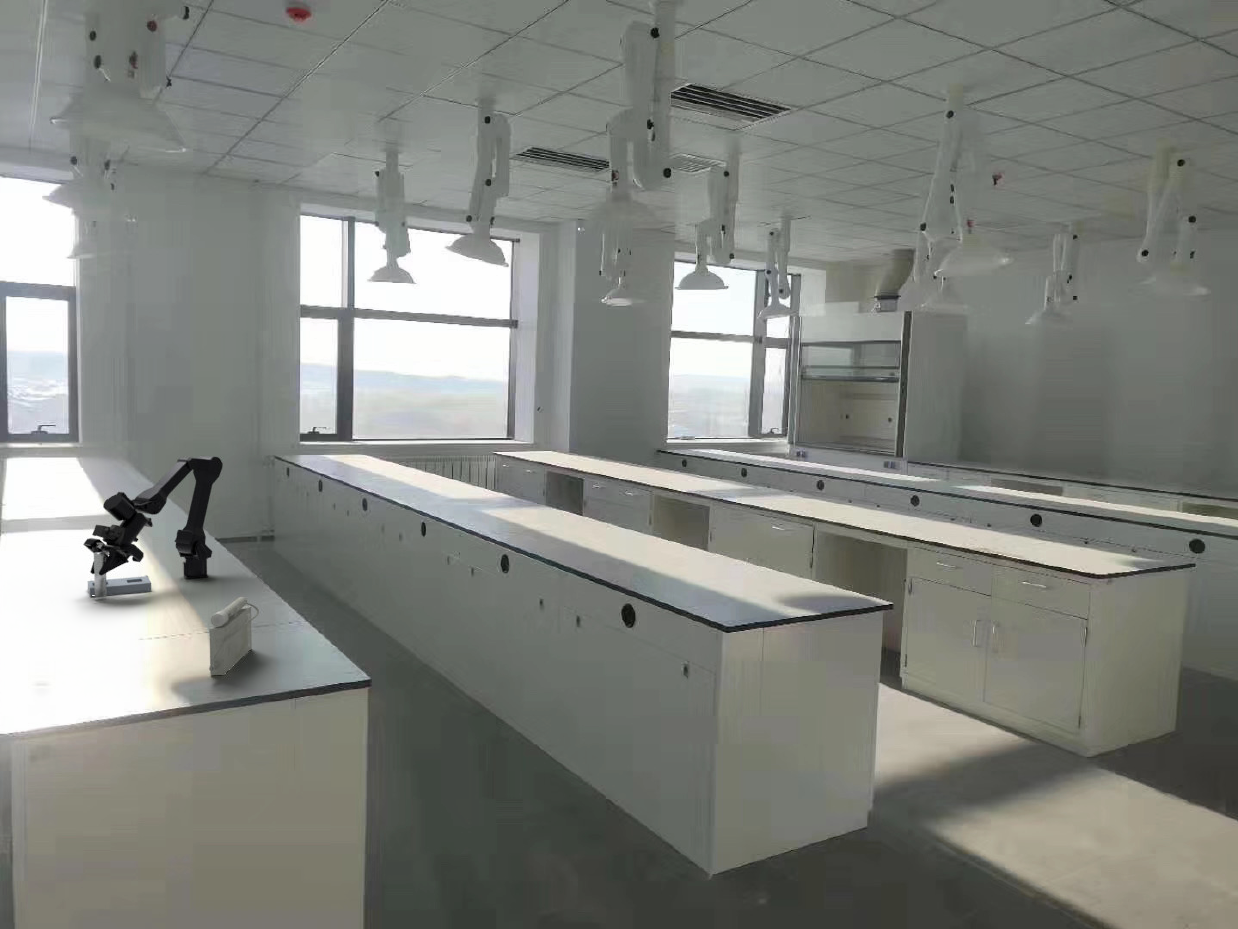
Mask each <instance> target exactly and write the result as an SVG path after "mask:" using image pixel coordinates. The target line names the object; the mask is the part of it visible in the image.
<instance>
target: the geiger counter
mask: <svg viewBox="0 0 1238 929" xmlns="http://www.w3.org/2000/svg"><path fill="white" fill-rule="evenodd" d="M252 607H253V608H254V609H255V610H256V613H255V615H253V616H252ZM259 611H260V610H259V608H258V607H257V606H256V605H254V604H252V603H249V602H248V600H247V598H246V597H245V596H239V597H238V598H236V599H235V600H234V601H232V602H231V603H230V604H228V605H226V606H225V608H223V609H222V610H219V611H217V612H215V613H214V614H213V615H212V616H211V617H210V624H211V625H212V626H211V627H210V628H209V660H210V661H209V668H208V669H209V671H210V672H209V673H210V674H209V675H224V674H225V673H226V672H227V671H228V670H229V669H231V668H232V667H233V665H235V664H236V663H237V662H238V661H239V660H240V659H241V658H242V657H243V656H244V657H246V655H247V654H248V653H249V652H250V651H249V650H251V648H252V649H253V644H252V641H253V640H252V636H253V635H252V621H253V620H254V619H256V618H257V617H258V615H259V613H260V612H259ZM248 651H249V652H248ZM251 651H252V650H251ZM247 652H248V653H247ZM246 653H247V654H246ZM245 654H246V655H245ZM244 657H243V658H244ZM243 658H242V659H243ZM242 659H241V660H242ZM241 660H240V661H241ZM240 661H239V662H240ZM239 662H238V663H239ZM238 663H237V664H238ZM237 664H236V665H237ZM236 665H235V666H236ZM233 668H234V667H233ZM233 668H232V669H233ZM232 669H231V670H232Z"/></svg>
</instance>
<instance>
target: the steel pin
mask: <svg viewBox="0 0 1238 929" xmlns="http://www.w3.org/2000/svg"><path fill="white" fill-rule="evenodd" d="M93 562H94V574H93V577H94V578H93V581H94V582H95V596H94V597H95V598H96V597H97V598H100V597H101V598H102V597H103V598H104V597H106V596H108V595H107V583H106V580H107V573H106V574H104V575H102V576H101V575H99V571H100V570H101V568H102V566H103V565H104V563H105V562H106V552H96V553H93Z"/></svg>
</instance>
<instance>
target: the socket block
mask: <svg viewBox="0 0 1238 929" xmlns="http://www.w3.org/2000/svg"><path fill="white" fill-rule="evenodd" d="M106 583H107V595H106V596H114V595H125V594H135V593H144V592H145V593H147V592H152V582H151V580H150V578H149V576H145V575H144V576H133V577H123V578H112V579H111V578H110V579H106ZM87 591H89V592H88V595H89V597H90V596H92V595H95V582H94V580H88V581H87Z"/></svg>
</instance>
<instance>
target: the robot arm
mask: <svg viewBox="0 0 1238 929" xmlns="http://www.w3.org/2000/svg"><path fill="white" fill-rule="evenodd" d="M223 464H224V463H223V461H222V459H221V458H220V457H218V456H214V455H213V456H212V455H198V456H197V457H195V458H194V457H188V456H186V457H185V456H180V457H179V458H178V459H177V461H176V463H175V464H174V465H173V466H172V467H171V468H170V469H169V470H168V471H167V472H166V473H165V474H164V475H163V476H162V477H161V478H160V479H159V481H157V482H156V483H155V485H153V486H152V487H150V488H148V489H146V490H143V491H142V492H141V493H139V494H138V495H136V496H135V498H133V499H131V498H129V497H128V495H127V494H126V493H125V492H122V491H118V492H117V493H116V494H114V495H112V496H110V497H109V498H106V500H104V502H103V505H102V506H103V509H104V510H105V511H106V512H107V513H108V514H110V515H111V516H112V517H113V519H115V520H116V521H118V522H121V521H122V522H121V523H119V525H118V524H111V525H110V526H107V525H101V524H96V525H95V526H94V529H93V532H92V536H93V537H99V538H92V537H90V538H87V539H86V540H85V541H84V542H83V546H84V547H86V549H88V550H89V551H90V552H92V553H93V554H94V553H96V552H106V562H105V563H104V565H103V566H102V568H101V570H100V571H99V575H101V576H102V575H104V574H106V575H107V573H109V572H111V571H112V570H114V569H117V568H118V567H120V566H123V565H125V564H127V563H129V562H130V561H129V558H130V557H132V558H131V560H132V561H133V562H136V563H141V562H142V560H143V559H144V557H145V553H144V551H142V549H140V548H139V547H137V545H136V544H135V543H137V542H138V541H139V538H138V536H139V534H141V532H142V530H144V528H145V527H148V528H152V527H154V526H153V524H154V523H153V521H152V517H147V516H146V515H152V516H154V515H159V513H161V511H162V510H163V508H164V507H165V506H166V504H167V502H168V501H167V500H168V497H169V495H170V494H171V493H172V492H173V491H174V490H175V489H176V488H177V487H178V486H179V484H181V482H183V480H185V478H186V477H187V476H188V475H189V474H190V473H191V471H192V473H193V476H194V480H195V485H194V488H193V489H194V490H193V493H192V499H191V503H190V508H189V511H188V515H187V516H188V517H187V519H186V525H184V527H183V529H177V531H176V538H175V540H174V543H175V549H176V550H177V552H178V555H179V556H180V558H184V560H183V561H182V575H183V576H184V578H186V579H187V580H188V579H197V578H196V577H201V578H208V577H209V574H208V559H209V558H212V554H213V550H212V549H211V548H210V547H209V546H208V545H207V544H206V540H207V538H206V534H205V531H204V524H205V519H206V516H207V511H208V506H209V501H210V497H211V492H212V488H213V484H214V483H215V482H216V481H217V480H218V479H219V478H220V476H221V472H222V470H223V466H224V465H223ZM144 514H145V515H144ZM100 538H102V539H100ZM89 573H90V574H92V575H94V561H93V562H92V565H91V568H90V571H89ZM186 579H185V580H186Z"/></svg>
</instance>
